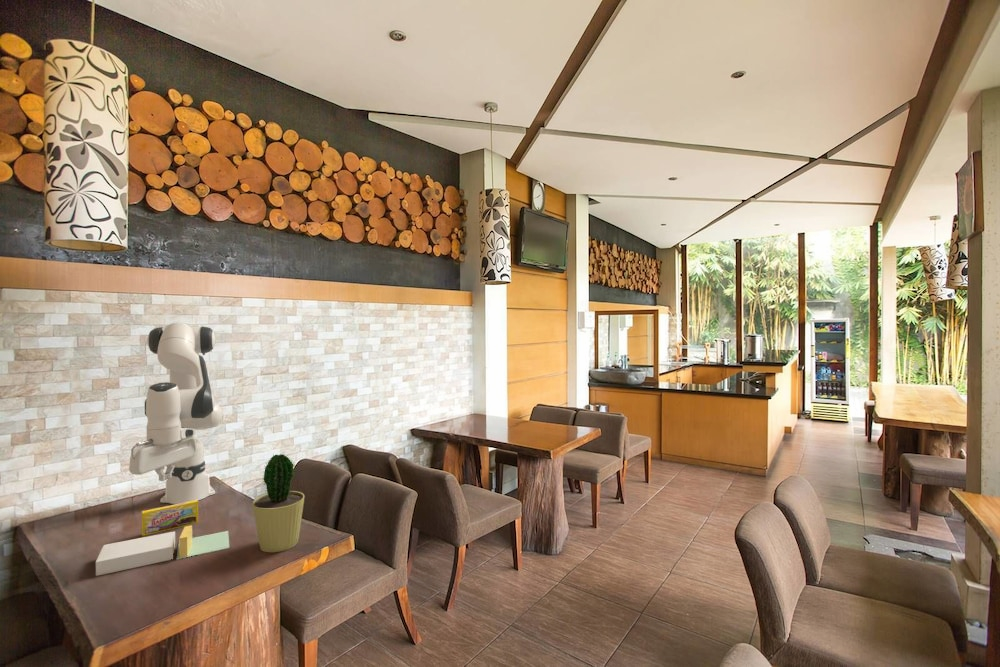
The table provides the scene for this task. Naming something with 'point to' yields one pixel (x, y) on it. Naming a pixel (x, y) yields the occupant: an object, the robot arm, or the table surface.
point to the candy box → (169, 517)
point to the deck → (135, 553)
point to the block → (185, 541)
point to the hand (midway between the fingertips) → (165, 479)
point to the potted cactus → (278, 507)
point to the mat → (207, 544)
